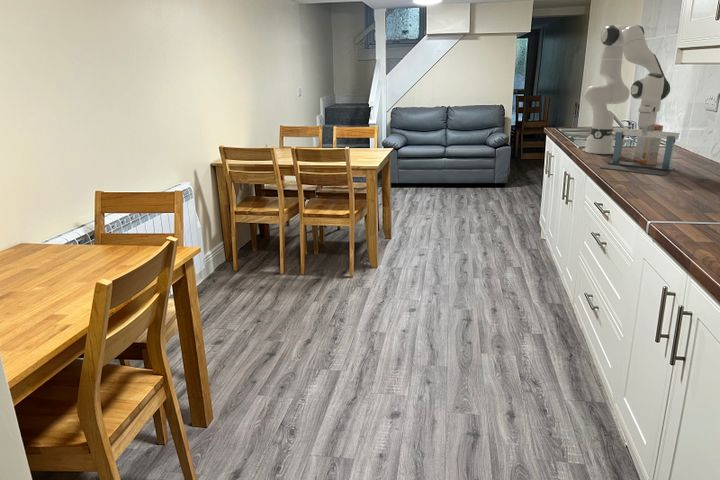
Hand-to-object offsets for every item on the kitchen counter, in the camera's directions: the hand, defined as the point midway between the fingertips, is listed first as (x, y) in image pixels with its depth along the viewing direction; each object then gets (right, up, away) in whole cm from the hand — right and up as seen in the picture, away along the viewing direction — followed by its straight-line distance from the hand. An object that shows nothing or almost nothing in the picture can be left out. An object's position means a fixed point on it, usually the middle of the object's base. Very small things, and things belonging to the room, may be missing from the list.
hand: (645, 135), depth 278 cm
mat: (-8, -18, -4) cm, 20 cm away
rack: (0, -16, +5) cm, 16 cm away
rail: (0, -1, 0) cm, 1 cm away
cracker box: (+8, -12, +16) cm, 22 cm away
